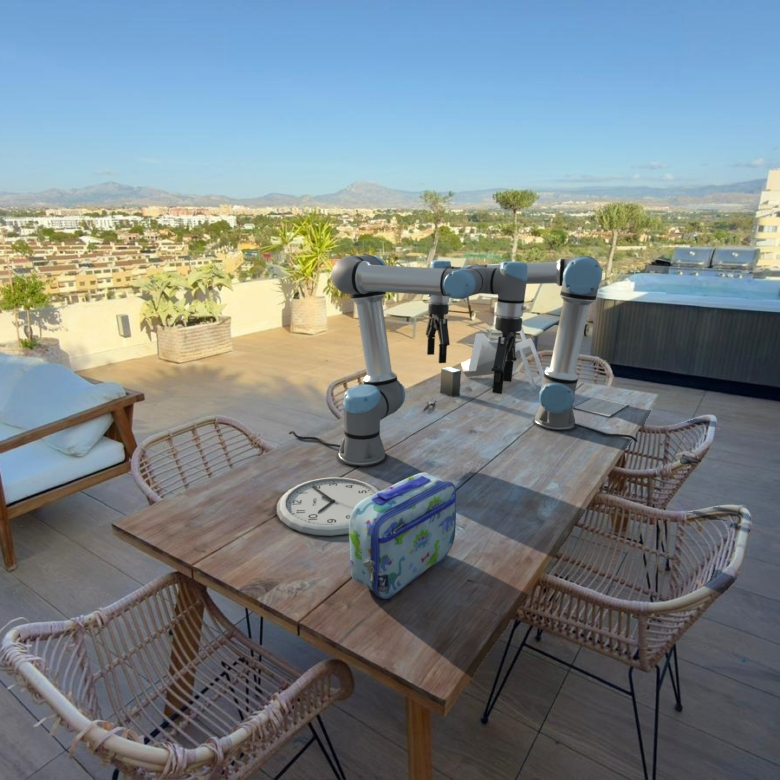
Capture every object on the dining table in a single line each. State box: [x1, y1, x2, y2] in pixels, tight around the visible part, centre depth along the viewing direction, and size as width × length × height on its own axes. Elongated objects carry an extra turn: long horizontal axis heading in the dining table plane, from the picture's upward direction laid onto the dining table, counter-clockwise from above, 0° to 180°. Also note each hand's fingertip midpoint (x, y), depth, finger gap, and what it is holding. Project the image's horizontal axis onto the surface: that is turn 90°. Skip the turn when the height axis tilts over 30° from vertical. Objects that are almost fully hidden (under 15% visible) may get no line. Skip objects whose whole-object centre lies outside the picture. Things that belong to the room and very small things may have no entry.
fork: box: [422, 395, 437, 412], centre depth 223 cm, size 3×16×2 cm, turn 160°
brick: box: [439, 366, 462, 397], centre depth 239 cm, size 8×5×12 cm
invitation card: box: [573, 396, 629, 418], centre depth 226 cm, size 21×1×15 cm
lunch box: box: [348, 471, 457, 600], centre depth 113 cm, size 26×11×21 cm, turn 134°
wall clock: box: [276, 476, 381, 537], centre depth 142 cm, size 30×2×30 cm
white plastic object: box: [460, 326, 545, 391], centre depth 259 cm, size 37×45×31 cm
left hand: (502, 387), depth 157 cm, fingers open, 13 cm apart
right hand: (436, 358), depth 201 cm, fingers open, 13 cm apart
